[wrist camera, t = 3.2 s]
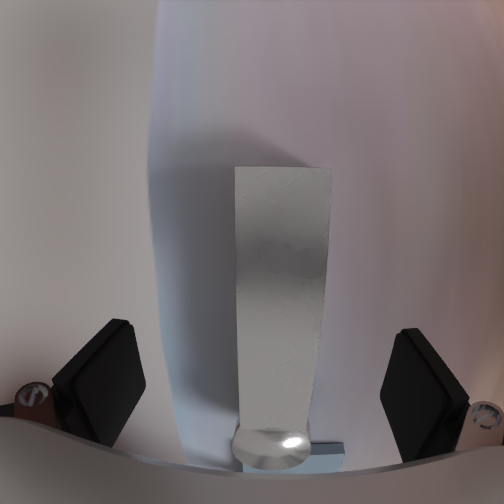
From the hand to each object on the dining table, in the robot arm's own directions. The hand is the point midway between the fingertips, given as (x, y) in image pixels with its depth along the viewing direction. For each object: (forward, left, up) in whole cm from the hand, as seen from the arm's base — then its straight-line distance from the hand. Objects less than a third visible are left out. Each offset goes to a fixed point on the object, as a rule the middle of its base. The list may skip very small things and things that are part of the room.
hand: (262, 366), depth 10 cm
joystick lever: (+1, +2, -7) cm, 7 cm away
